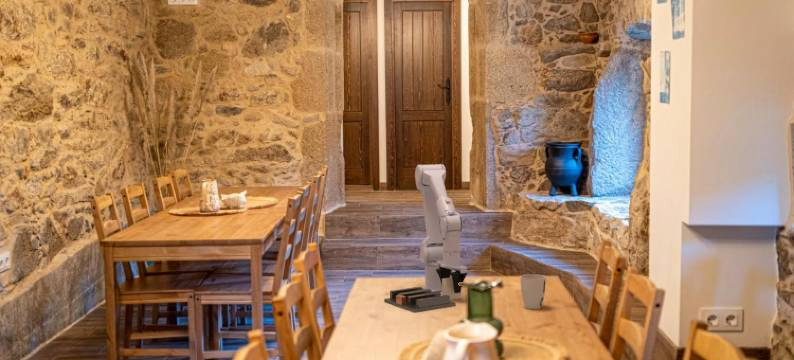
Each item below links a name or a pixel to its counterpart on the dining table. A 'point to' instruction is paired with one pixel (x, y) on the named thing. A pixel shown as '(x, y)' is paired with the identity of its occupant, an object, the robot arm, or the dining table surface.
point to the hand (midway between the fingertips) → (451, 291)
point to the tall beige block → (449, 289)
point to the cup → (533, 290)
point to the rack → (418, 299)
